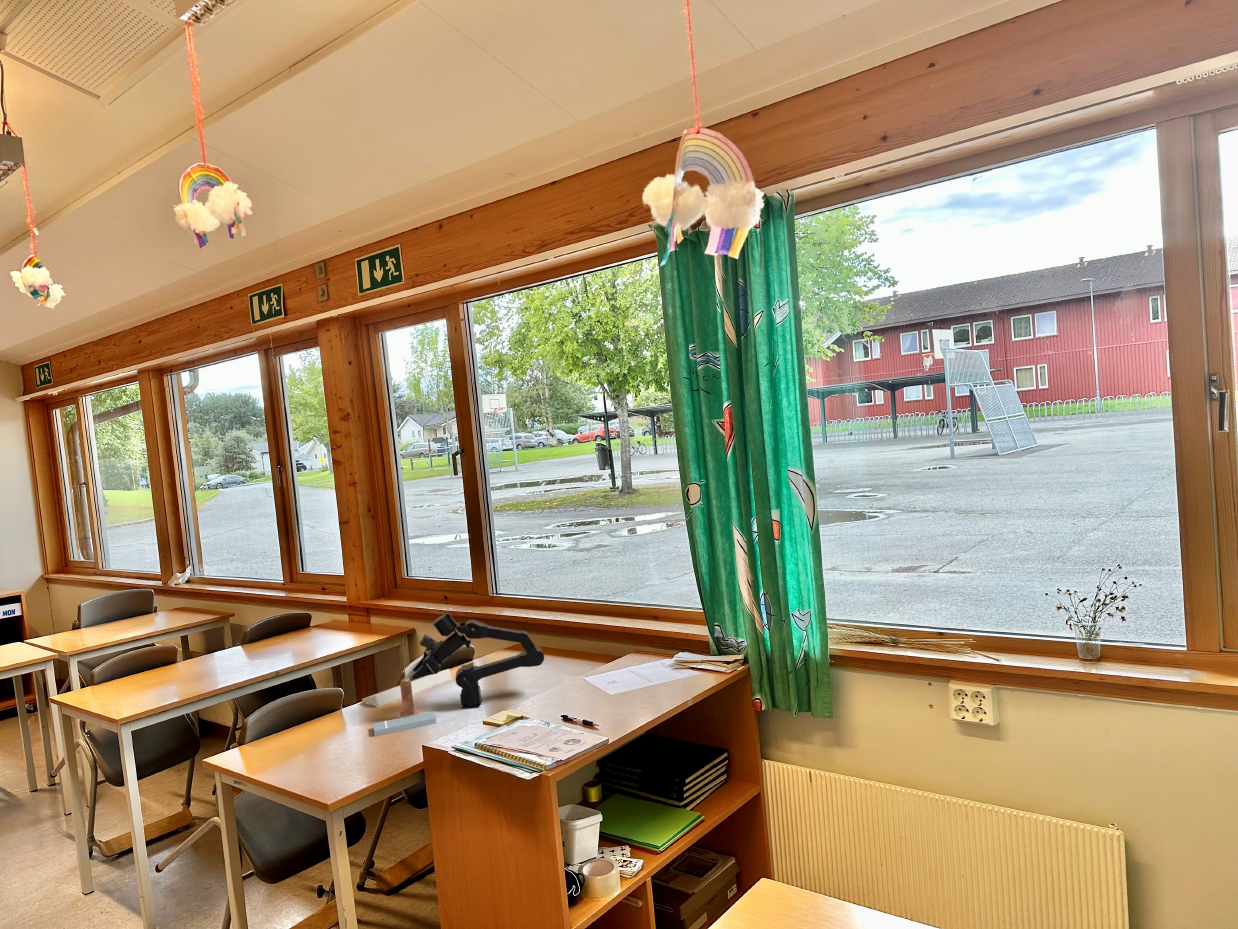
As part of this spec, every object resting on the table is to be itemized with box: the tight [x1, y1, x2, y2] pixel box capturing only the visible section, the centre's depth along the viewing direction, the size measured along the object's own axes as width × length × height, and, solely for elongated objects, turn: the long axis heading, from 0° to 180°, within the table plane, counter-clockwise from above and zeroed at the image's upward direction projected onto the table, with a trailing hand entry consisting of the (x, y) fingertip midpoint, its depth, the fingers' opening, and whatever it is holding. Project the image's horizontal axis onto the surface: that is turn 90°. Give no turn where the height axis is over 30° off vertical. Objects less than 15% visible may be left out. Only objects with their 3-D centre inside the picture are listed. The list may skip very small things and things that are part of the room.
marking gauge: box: [399, 677, 419, 718], centre depth 267 cm, size 6×5×14 cm
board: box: [372, 710, 437, 737], centre depth 260 cm, size 20×8×2 cm, turn 110°
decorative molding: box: [361, 668, 453, 708], centre depth 300 cm, size 34×5×10 cm
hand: (413, 674), depth 270 cm, fingers open, 9 cm apart
